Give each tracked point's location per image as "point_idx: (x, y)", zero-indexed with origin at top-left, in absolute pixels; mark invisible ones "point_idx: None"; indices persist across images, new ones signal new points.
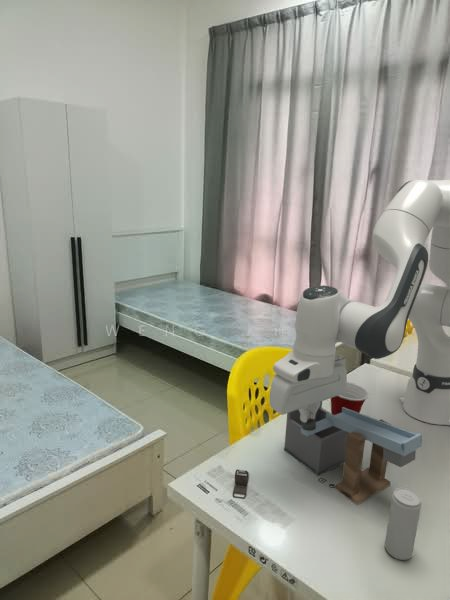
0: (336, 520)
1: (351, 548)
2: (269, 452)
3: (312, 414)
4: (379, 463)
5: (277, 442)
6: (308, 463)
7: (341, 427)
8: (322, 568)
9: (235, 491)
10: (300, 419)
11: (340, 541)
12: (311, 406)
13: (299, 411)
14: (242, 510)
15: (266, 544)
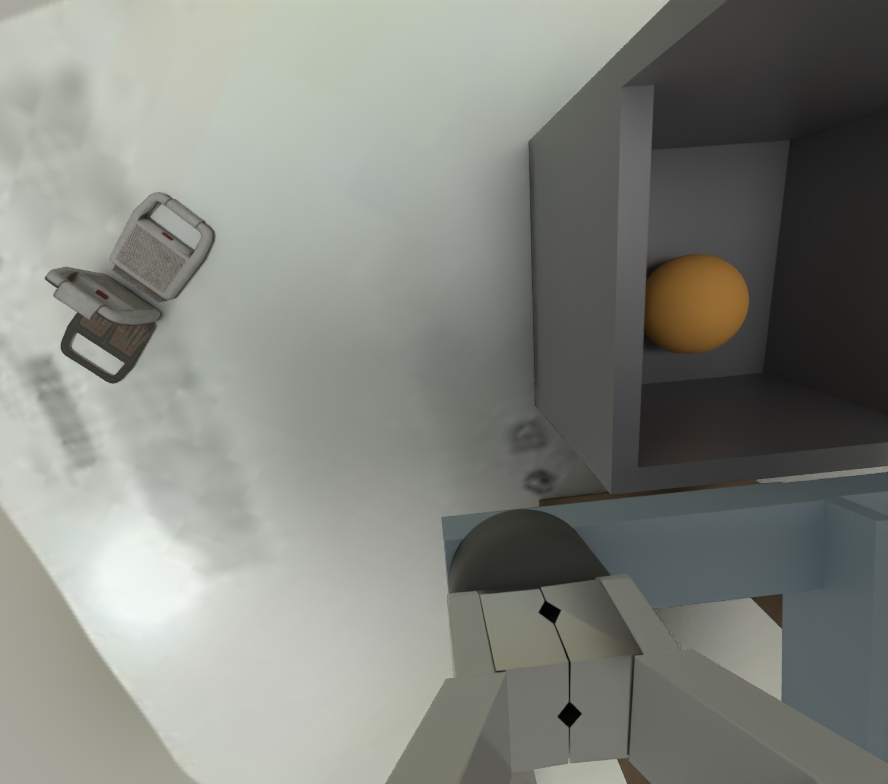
0: (412, 620)
1: (372, 714)
2: (434, 114)
3: (602, 747)
4: (781, 614)
5: (545, 43)
6: (540, 344)
7: (797, 676)
8: (236, 731)
9: (86, 323)
10: (447, 600)
11: (359, 685)
12: (718, 752)
13: (432, 705)
14: (77, 438)
15: (103, 608)
